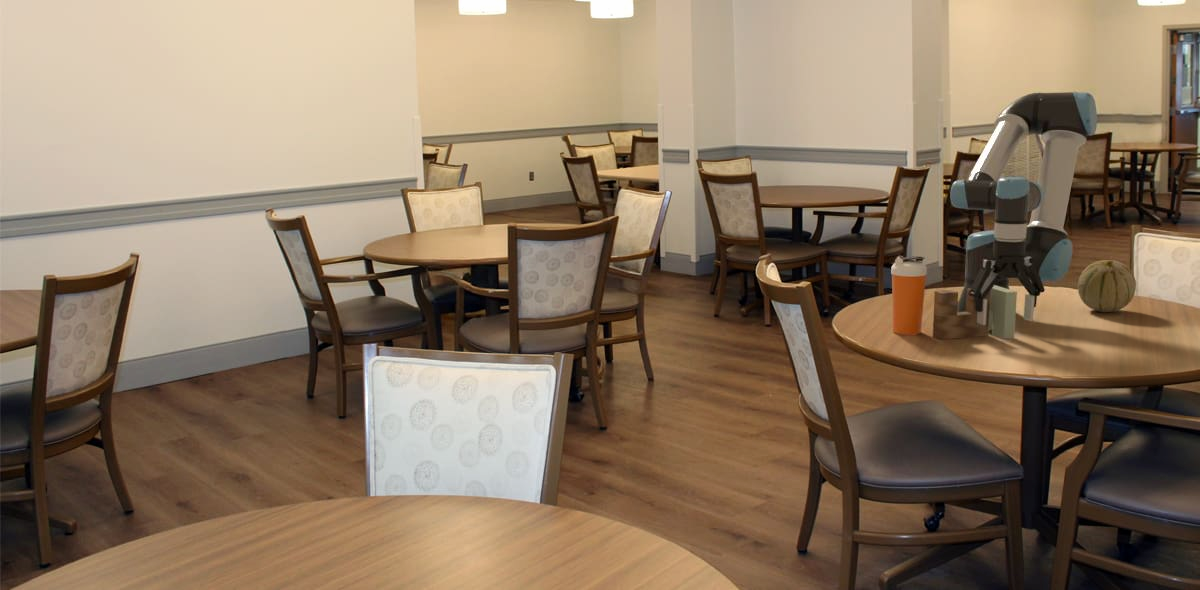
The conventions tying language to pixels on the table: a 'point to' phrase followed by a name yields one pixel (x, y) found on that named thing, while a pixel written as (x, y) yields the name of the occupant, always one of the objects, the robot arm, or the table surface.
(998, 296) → the slot plate
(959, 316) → the brown wooden slotted board
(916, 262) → the shaker bottle
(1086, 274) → the cantaloupe
